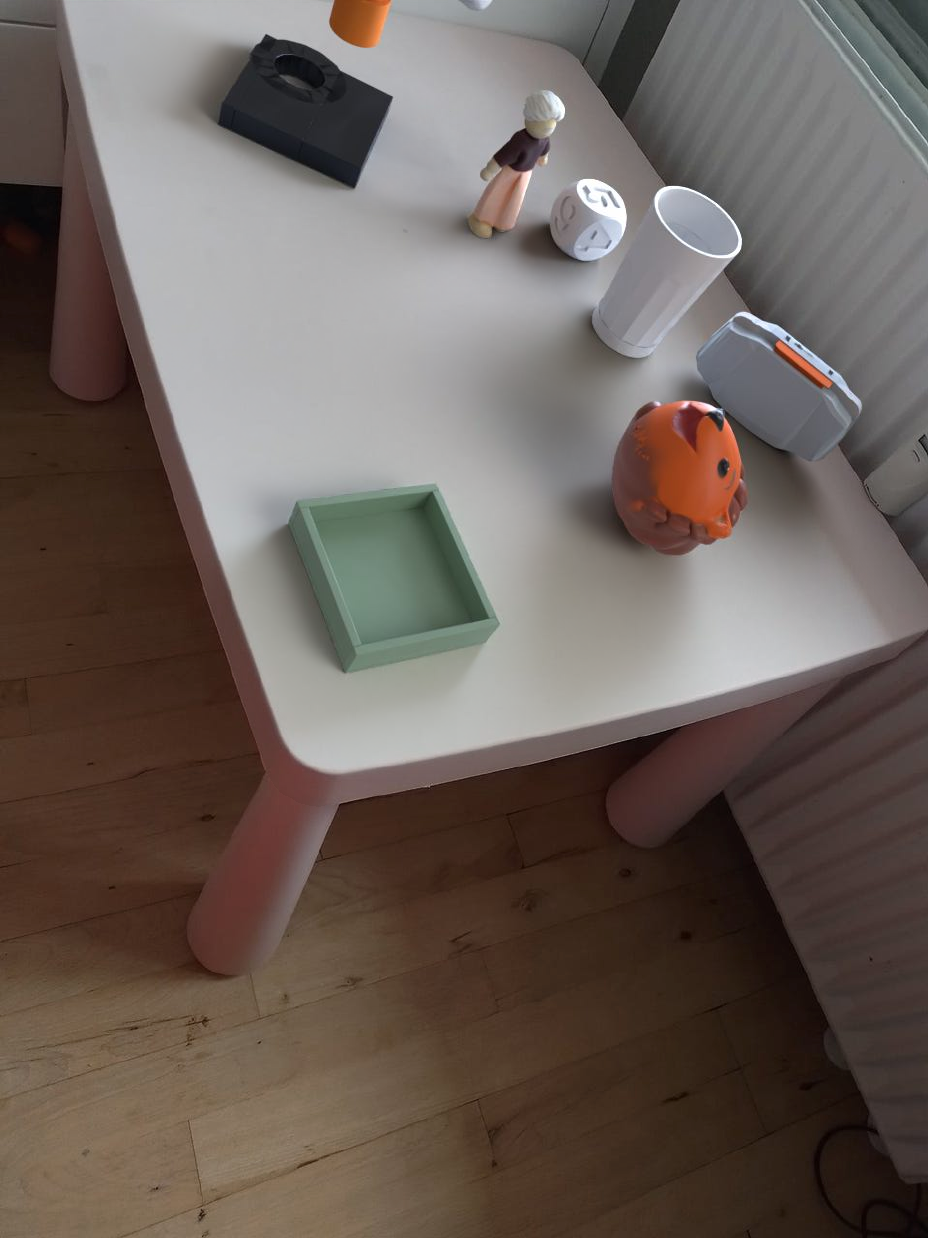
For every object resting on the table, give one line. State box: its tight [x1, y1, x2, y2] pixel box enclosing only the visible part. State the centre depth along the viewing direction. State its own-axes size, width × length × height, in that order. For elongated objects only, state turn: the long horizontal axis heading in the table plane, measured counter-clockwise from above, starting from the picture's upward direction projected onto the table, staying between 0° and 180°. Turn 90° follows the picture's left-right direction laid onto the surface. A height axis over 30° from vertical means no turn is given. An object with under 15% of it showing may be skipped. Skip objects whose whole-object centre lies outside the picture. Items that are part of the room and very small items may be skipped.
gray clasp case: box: [695, 311, 863, 463], centre depth 84 cm, size 14×3×8 cm, turn 56°
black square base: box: [217, 33, 394, 189], centre depth 84 cm, size 12×13×2 cm
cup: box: [591, 185, 742, 359], centre depth 82 cm, size 8×8×12 cm
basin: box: [287, 483, 501, 674], centre depth 63 cm, size 11×10×2 cm
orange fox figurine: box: [611, 400, 749, 557], centre depth 71 cm, size 12×10×11 cm
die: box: [549, 178, 627, 262], centre depth 88 cm, size 5×5×5 cm
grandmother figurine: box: [466, 89, 566, 239], centre depth 82 cm, size 8×4×13 cm, turn 143°
